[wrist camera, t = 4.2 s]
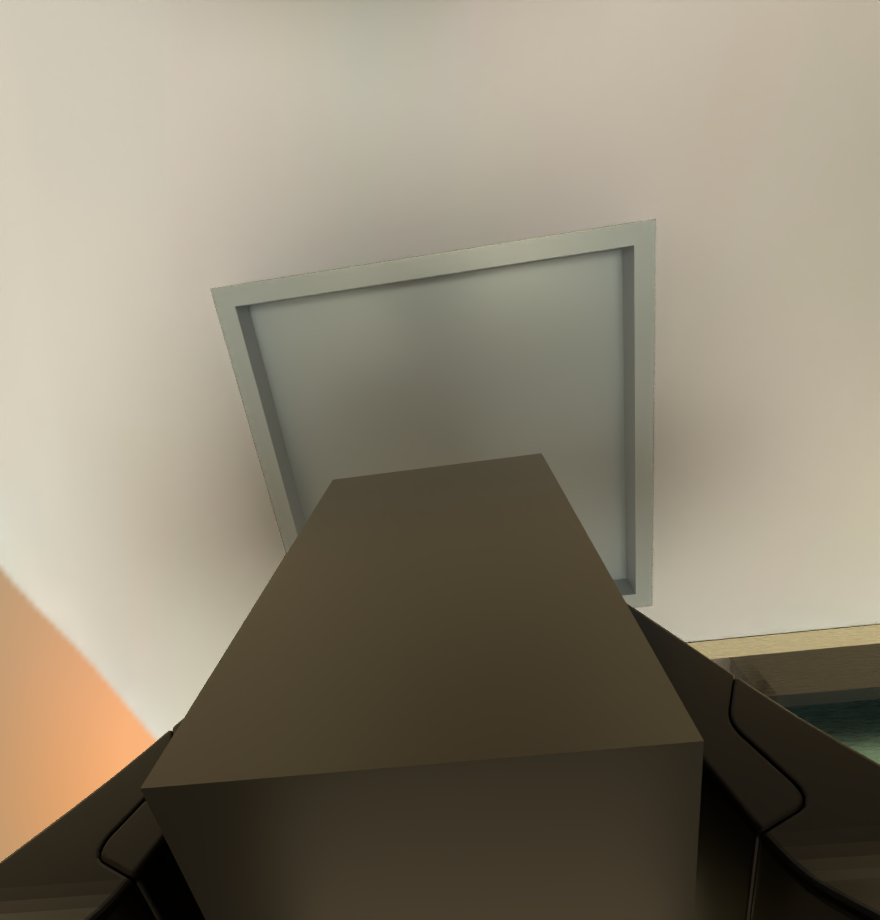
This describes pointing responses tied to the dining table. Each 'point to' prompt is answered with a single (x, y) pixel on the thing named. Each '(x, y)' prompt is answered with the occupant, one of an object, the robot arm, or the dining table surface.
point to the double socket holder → (814, 678)
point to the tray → (463, 375)
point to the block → (437, 722)
